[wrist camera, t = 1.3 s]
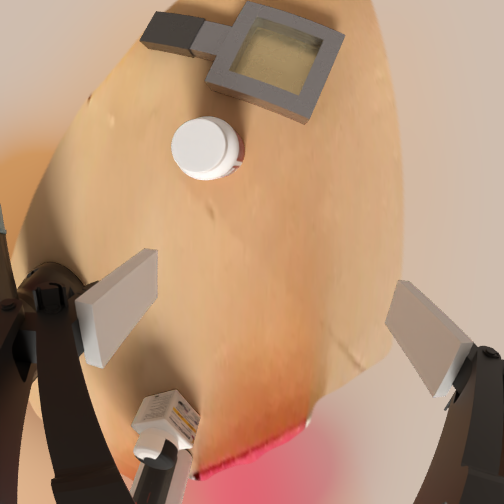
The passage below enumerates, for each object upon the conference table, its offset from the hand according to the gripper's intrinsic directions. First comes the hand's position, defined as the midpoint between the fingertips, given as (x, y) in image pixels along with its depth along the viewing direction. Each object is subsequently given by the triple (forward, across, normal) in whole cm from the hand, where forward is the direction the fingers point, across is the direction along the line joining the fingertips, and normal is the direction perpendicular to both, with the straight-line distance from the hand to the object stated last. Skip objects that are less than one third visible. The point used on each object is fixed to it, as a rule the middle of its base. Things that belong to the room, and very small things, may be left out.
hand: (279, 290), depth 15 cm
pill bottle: (+21, -7, +7) cm, 23 cm away
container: (+21, -13, -35) cm, 43 cm away
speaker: (+21, -14, -52) cm, 58 cm away
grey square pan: (+21, -7, +21) cm, 30 cm away
